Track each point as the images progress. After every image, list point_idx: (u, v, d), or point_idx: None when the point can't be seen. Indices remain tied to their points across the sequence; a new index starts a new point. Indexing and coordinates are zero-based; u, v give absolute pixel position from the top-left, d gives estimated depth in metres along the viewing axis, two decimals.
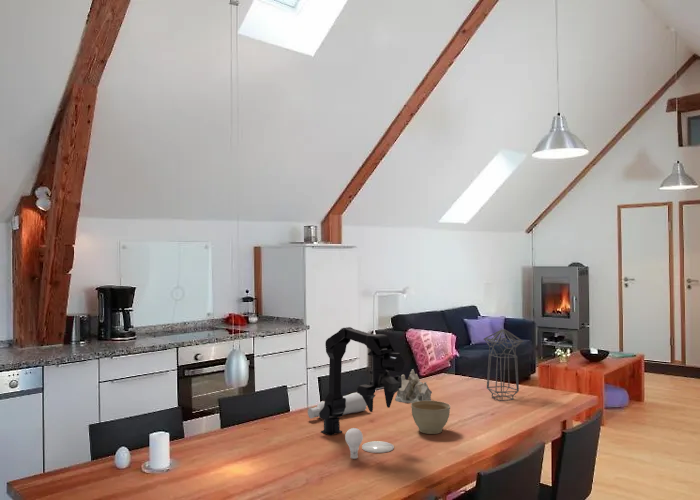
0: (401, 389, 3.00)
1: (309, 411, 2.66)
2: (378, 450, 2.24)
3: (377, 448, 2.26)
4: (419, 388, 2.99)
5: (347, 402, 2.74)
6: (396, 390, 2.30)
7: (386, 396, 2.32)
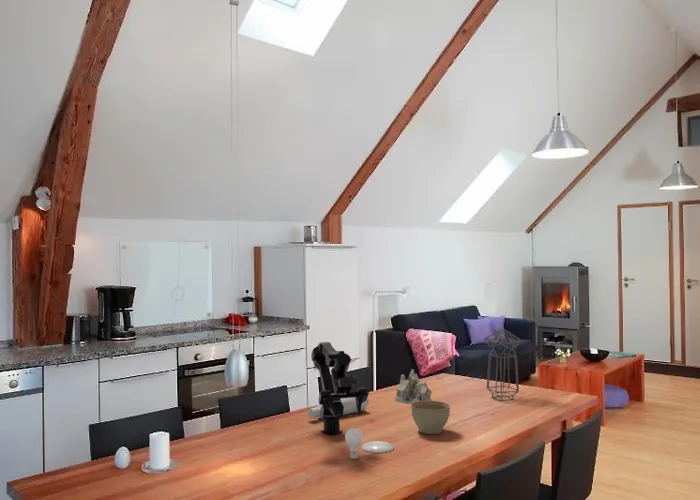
0: (401, 389, 3.00)
1: (309, 411, 2.66)
2: (378, 450, 2.24)
3: (377, 448, 2.26)
4: (419, 388, 2.99)
5: (347, 402, 2.74)
6: (361, 394, 2.29)
7: (357, 407, 2.29)
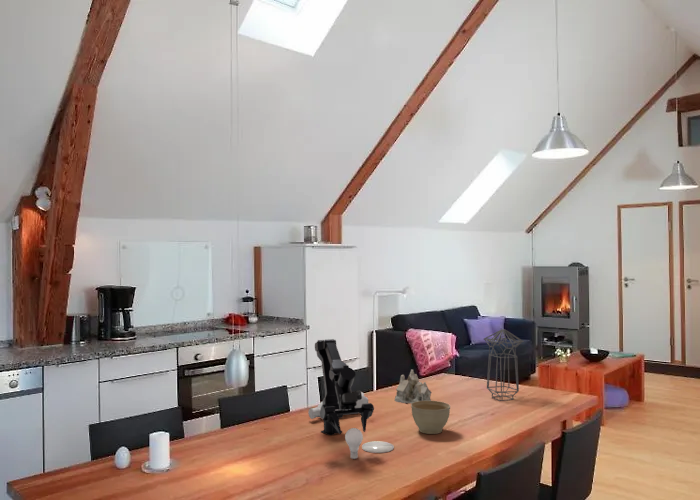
0: (401, 389, 2.99)
1: (310, 411, 2.66)
2: (378, 450, 2.24)
3: (377, 448, 2.26)
4: (419, 388, 2.99)
5: None
6: (366, 410, 2.22)
7: (362, 423, 2.23)
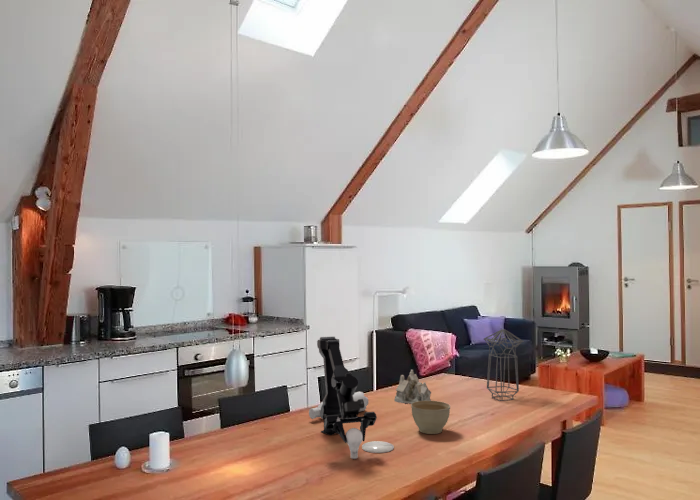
0: (400, 390, 2.99)
1: (310, 411, 2.65)
2: (378, 450, 2.24)
3: (377, 448, 2.26)
4: (418, 388, 2.98)
5: None
6: (365, 419, 2.19)
7: None
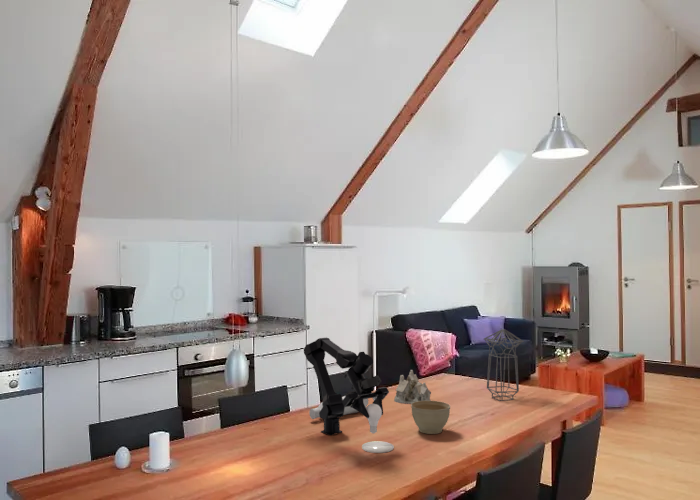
0: (400, 390, 2.99)
1: (311, 412, 2.65)
2: (378, 450, 2.24)
3: (377, 448, 2.26)
4: (418, 389, 2.98)
5: None
6: (381, 394, 2.30)
7: None
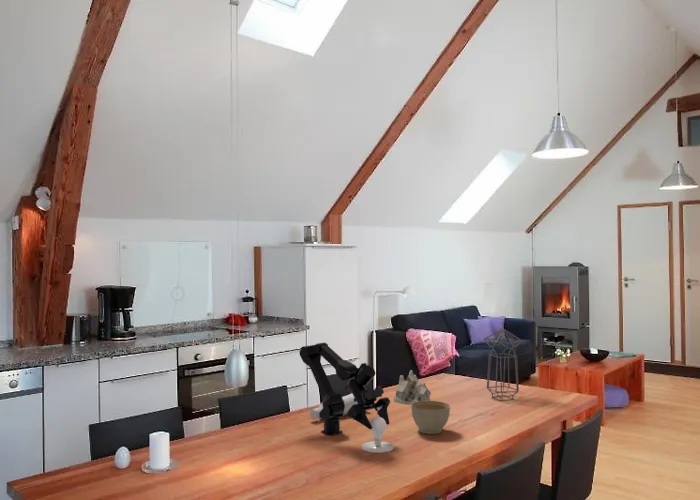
0: (400, 390, 2.98)
1: (312, 412, 2.65)
2: (378, 450, 2.24)
3: (377, 448, 2.26)
4: (418, 389, 2.98)
5: (348, 402, 2.74)
6: (386, 404, 2.34)
7: (382, 416, 2.34)
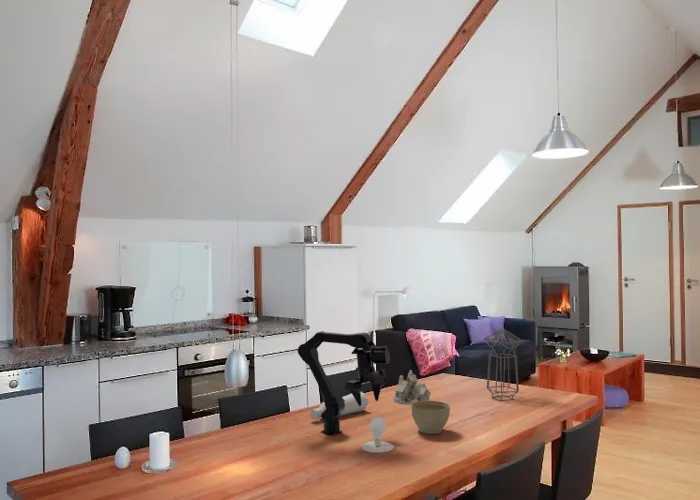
0: (400, 390, 2.98)
1: (312, 412, 2.64)
2: (378, 450, 2.24)
3: (377, 448, 2.26)
4: (418, 389, 2.97)
5: (349, 402, 2.74)
6: (382, 384, 2.45)
7: (374, 390, 2.47)
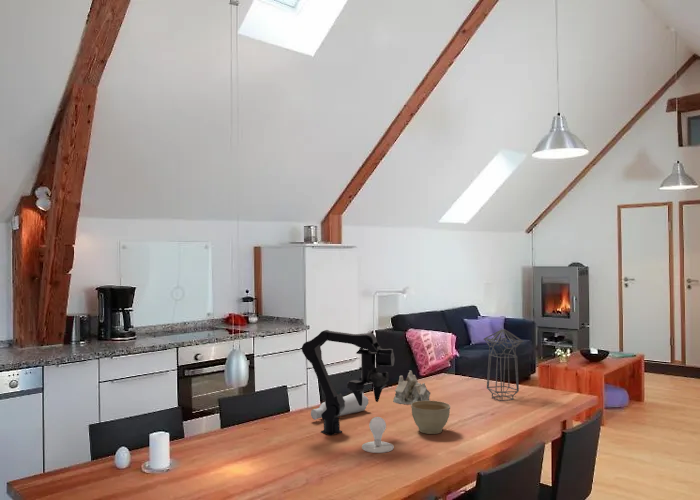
0: (400, 390, 2.97)
1: (312, 412, 2.64)
2: (378, 450, 2.24)
3: (377, 448, 2.26)
4: (418, 389, 2.97)
5: (349, 402, 2.74)
6: (384, 385, 2.46)
7: (375, 391, 2.48)
